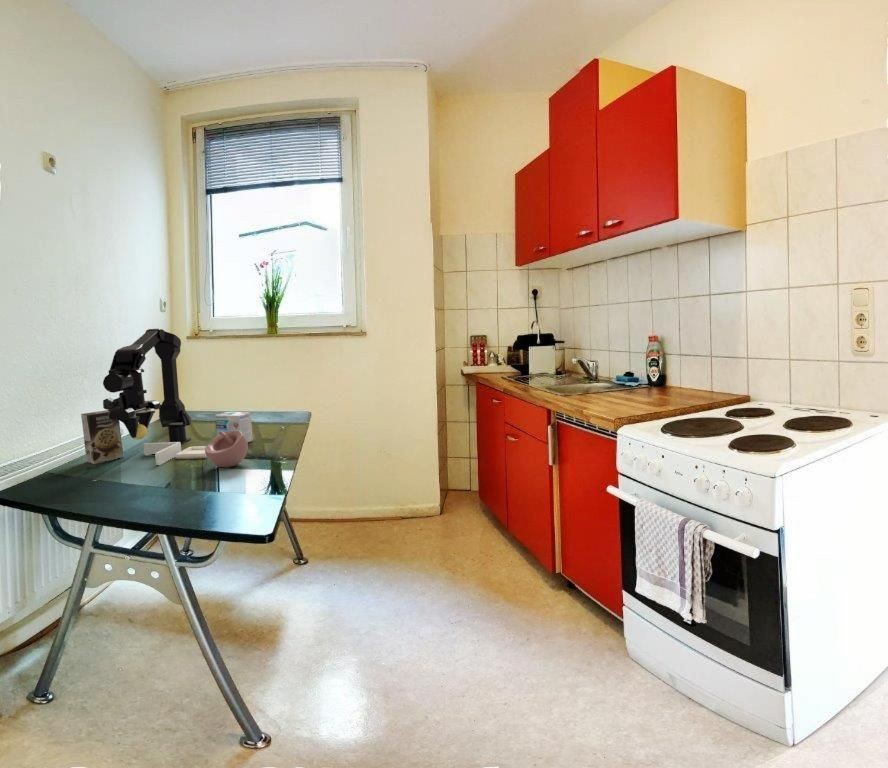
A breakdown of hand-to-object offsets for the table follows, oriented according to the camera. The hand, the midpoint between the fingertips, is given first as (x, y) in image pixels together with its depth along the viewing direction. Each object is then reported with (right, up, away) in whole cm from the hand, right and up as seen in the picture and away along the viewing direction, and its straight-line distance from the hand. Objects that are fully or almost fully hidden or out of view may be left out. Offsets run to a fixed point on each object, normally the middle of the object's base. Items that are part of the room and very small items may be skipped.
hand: (138, 435), depth 168 cm
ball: (0, -1, 0) cm, 1 cm away
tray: (+16, -7, +6) cm, 19 cm away
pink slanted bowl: (+33, -9, -10) cm, 36 cm away
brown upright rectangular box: (-14, -9, +5) cm, 17 cm away
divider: (+4, -8, +1) cm, 9 cm away
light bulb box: (+23, -5, +22) cm, 32 cm away
